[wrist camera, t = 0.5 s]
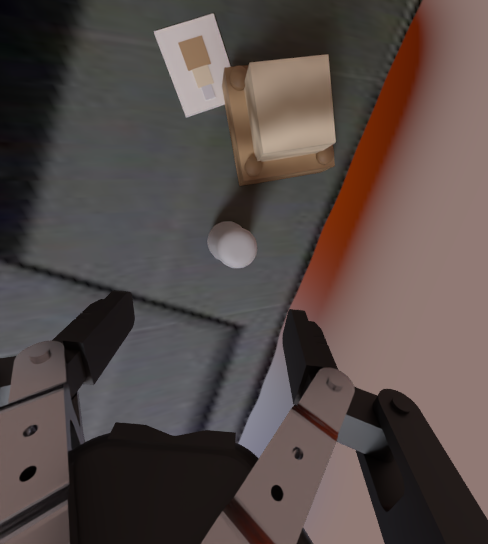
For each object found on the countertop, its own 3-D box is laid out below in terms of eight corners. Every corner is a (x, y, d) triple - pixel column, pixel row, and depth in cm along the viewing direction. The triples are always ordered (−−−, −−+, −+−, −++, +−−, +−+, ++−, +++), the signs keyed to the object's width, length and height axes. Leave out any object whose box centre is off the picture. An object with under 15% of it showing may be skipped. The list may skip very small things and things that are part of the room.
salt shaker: (201, 249, 35) (199, 263, 23) (216, 215, 35) (223, 209, 22) (235, 264, 37) (252, 285, 24) (251, 231, 36) (275, 234, 24)
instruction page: (154, 32, 29) (153, 30, 29) (213, 14, 30) (213, 12, 30) (186, 117, 32) (186, 116, 31) (240, 99, 32) (240, 98, 32)
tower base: (221, 86, 32) (227, 41, 24) (310, 76, 33) (343, 31, 25) (239, 186, 34) (249, 174, 27) (320, 172, 36) (352, 157, 28)
